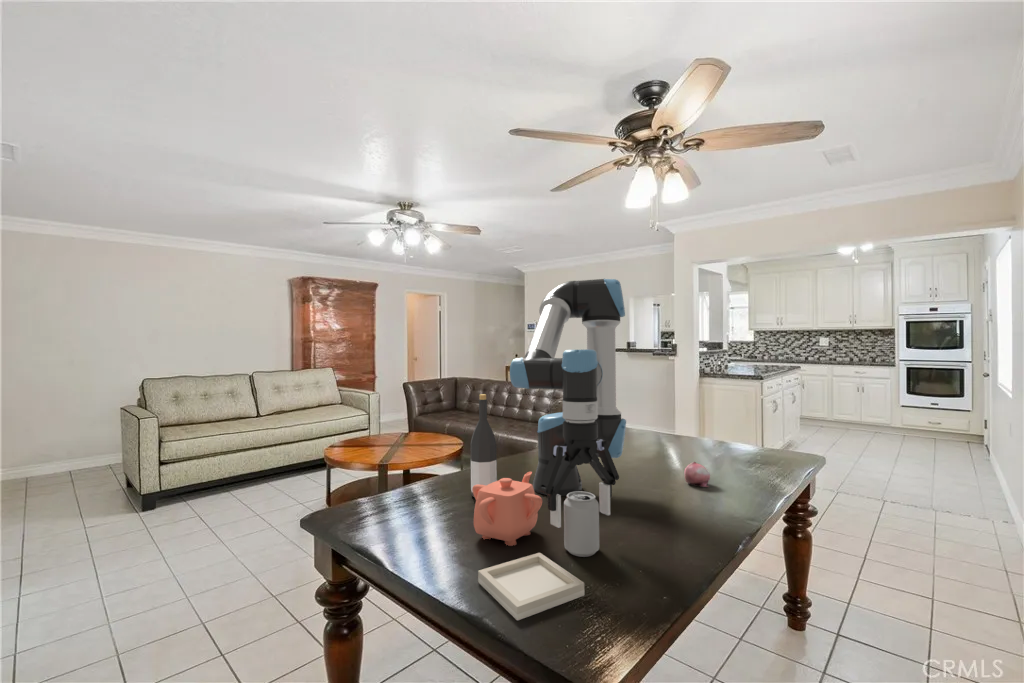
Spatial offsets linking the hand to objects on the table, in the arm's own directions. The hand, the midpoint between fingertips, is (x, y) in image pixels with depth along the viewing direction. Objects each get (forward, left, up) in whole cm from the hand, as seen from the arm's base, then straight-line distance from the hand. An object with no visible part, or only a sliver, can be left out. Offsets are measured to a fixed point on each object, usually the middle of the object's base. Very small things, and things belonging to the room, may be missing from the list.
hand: (581, 519), depth 98 cm
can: (0, 0, -7) cm, 7 cm away
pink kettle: (-16, -9, -7) cm, 20 cm away
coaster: (+7, -18, -7) cm, 20 cm away
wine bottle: (-44, -1, -7) cm, 45 cm away
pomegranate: (-16, +60, -7) cm, 63 cm away
